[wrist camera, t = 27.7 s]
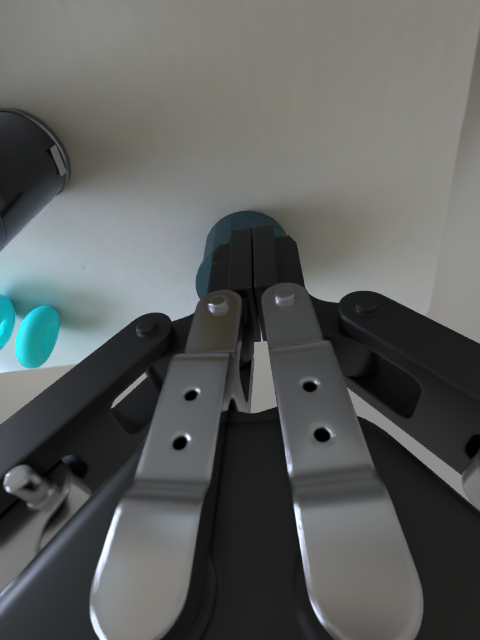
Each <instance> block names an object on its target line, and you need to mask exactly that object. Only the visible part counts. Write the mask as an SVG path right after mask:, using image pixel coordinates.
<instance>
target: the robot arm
mask: <svg viewBox="0 0 480 640" xmlns="http://www.w3.org/2000/svg"><path fill="white" fill-rule="evenodd" d="M69 178H70V163H69V159H68V156H67V153H66V151H65V149H64V147H63V145H62V144H61V142H60V141H59V139H58V138H57V136H56V135H55V134H54V133H53V132H52V131H51V130H50V129H49V128H48V127H47V126H46V125H45V124H44V123H42V122H41V121H40V120H38V119H37V118H35V117H34V116H32V115H30V114H28V113H26V112H23V111H20V110H17V109H11V108H2V109H0V252H1V251H2V250H3V249H4V248H5V247H6V245H7V244H8V243H9V242H10V241H11V240H12V239H13V238H14V237H15V236H16V235H17V234H18V233H19V232H20V231H21V230H22V229H23V228H24V227H25V226H26V225H27V224H28V223H29V222H30V221H31V220H32V219H33V218H34V217H35V216H36V215H37V214H38V213H39V212H40V211H41V210H42V209H43V208H44V207H45V206H46V205H47V204H48V203H49V202H50V201H51V200H52V199H53V198H54V197H55V196H57V195H58V194H59V193H60V192H61V191H62V190H63V189H64V188H65V187H66V185H67V184H68V181H69ZM211 263H212V264H211V268H210V270H211V271H210V275H209V282H208V289H207V295H205V296H204V297H203V298H201V300H200V301H199V302H198V304H197V306H196V310H195V313H193V314H191V315H189V316H187V317H184V318H181V319H178V320H175V321H173V322H171V320H170V318H169V317H168V316H167V315H165V314H163V313H148V314H145V315H143V316H140V317H138V318H137V319H135V320H134V321H132V322H131V323H130V324H129V325H127V326H126V327H125V328H124V329H122V330H121V331H120V332H118V333H117V334H116V335H115V336H113V337H112V338H111V339H109V340H108V341H107V342H106V343H104V344H103V345H102V346H101V347H99V348H98V349H97V350H95V351H94V352H93V353H92V354H90V355H89V356H88V357H86V358H85V359H84V360H83V361H81V362H80V363H79V364H78V365H76V366H75V367H74V368H73V369H71V370H70V371H69V372H67V373H66V374H65V375H63V376H62V377H61V378H60V379H58V380H57V381H56V382H55V383H53V384H52V385H51V386H49V387H48V388H47V389H46V390H44V391H43V392H42V393H40V394H39V395H38V396H37V397H35V398H34V399H33V400H32V401H30V402H29V403H28V404H26V405H25V406H24V407H23V408H21V409H20V410H19V411H17V412H16V413H15V414H14V415H12V416H11V417H10V418H9V419H7V420H6V421H5V422H3V423H2V424H1V425H0V640H480V344H479V343H477V342H475V341H473V340H471V339H469V338H467V337H465V336H463V335H461V334H459V333H457V332H455V331H453V330H451V329H449V328H447V327H445V326H443V325H441V324H439V323H437V322H435V321H433V320H431V319H429V318H427V317H425V316H423V315H421V314H419V313H417V312H415V311H413V310H411V309H409V308H407V307H405V306H403V305H401V304H399V303H397V302H395V301H393V300H391V299H389V298H387V297H385V296H383V295H381V294H379V293H376V292H371V291H356V292H352V293H350V294H347V295H346V296H344V297H343V298H342V299H341V300H340V302H339V303H334V302H327V301H322V300H319V299H317V298H315V297H313V296H311V295H310V294H309V293H308V291H307V290H306V288H305V284H304V279H303V274H302V269H301V264H300V260H299V254H298V249H297V244H296V242H295V241H294V240H293V239H292V238H291V237H290V236H281V237H274V230H273V224H267V225H259V226H253V231H252V227H245V228H238V229H232V231H231V243H229V244H221V245H219V246H218V247H217V248H216V250H215V251H214V252H213V254H212V261H211ZM261 332H262V338H263V341H267V343H268V349H269V356H270V363H271V369H272V375H273V382H274V388H275V394H276V401H277V407H275V408H272V409H268V410H266V411H262V412H259V413H251V397H252V385H253V384H252V383H253V371H254V357H253V354H254V342H261ZM144 372H145V374H146V375H147V378H146V379H145V380H143V381H142V382H141V383H140V384H139V385H138V386H137V387H136V388H135V389H133V390H132V391H131V392H130V393H129V394H128V395H127V396H126V397H125V398H124V399H123V400H121V401H120V402H119V403H118V404H117V405H116V406H115V407H114V408H112V409H111V406H112V403H113V402H114V400H115V399H116V398H117V397H118V396H119V395H120V394H121V393H122V392H123V391H124V390H125V389H127V388H128V387H129V386H130V385H131V384H132V383H133V382H134V381H136V380H137V378H139V377H140V376H141V375H142V374H143V373H144ZM347 387H348V388H349V389H350V390H351V391H353V392H354V393H355V394H357V395H358V396H359V397H361V398H362V399H363V400H364V401H366V402H367V403H368V404H370V405H371V406H372V407H374V408H375V409H377V411H379V412H380V413H381V414H383V415H384V416H385V417H387V418H388V419H389V420H391V421H392V422H393V423H395V424H396V425H397V426H398V427H400V428H401V429H402V430H404V431H405V432H406V433H407V434H409V435H410V436H411V437H413V438H414V439H415V440H417V441H418V442H419V443H420V444H422V445H423V446H424V447H426V448H427V449H428V450H430V451H431V452H432V453H433V454H435V455H436V456H437V457H439V458H440V459H441V460H443V461H444V462H445V463H447V464H448V465H449V466H450V467H452V468H453V469H454V470H456V471H457V472H458V473H459V474H461V475H462V485H463V488H464V491H465V494H466V496H467V497H468V499H469V501H470V502H471V503H472V504H471V503H469V502H468V501H467V500H466V499H465V498H464V497H462V496H461V495H460V494H459V493H457V492H456V491H455V490H454V489H453V488H452V487H450V486H449V485H448V484H447V483H446V482H445V481H444V480H442V479H441V478H440V477H439V476H438V475H436V474H435V473H434V472H433V471H432V470H431V469H429V468H428V467H427V466H426V465H425V464H423V463H422V462H421V461H420V460H419V459H418V458H416V457H415V456H414V455H413V454H412V453H410V452H409V451H408V450H407V449H406V448H405V447H404V446H402V445H401V444H400V443H399V442H398V441H396V440H395V439H394V438H393V437H392V436H391V435H389V434H388V433H387V432H386V431H384V430H383V429H381V428H380V427H378V426H377V425H375V424H373V423H371V422H369V421H368V420H366V419H364V418H361V417H359V416H357V415H356V412H355V410H354V407H353V404H352V401H351V398H350V396H349V392H348V390H347Z"/></svg>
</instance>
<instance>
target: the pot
mask: <svg viewBox="0 0 480 640" xmlns="http://www.w3.org/2000/svg"><path fill="white" fill-rule="evenodd" d="M267 224H273V230H274V237H281V236H286V234H285V232H284V230H283V229H282V227H281V226H280V225H279V224H278V223H277V222H276V221H275V220H274V219H272V218H270V217H269V216H267V215H264V214H262V213H258V212H253V211H243V212H237V213H233V214H230V215H228V216H226V217H224V218H223V219H221V220H220V221H218V222H217V223H216V224H215V225H214V227H213V228H212V229H211V231H210V233H209V235H208V236H207V241H206V247H205V252H204V258H203V260H204V259H205V258H206V257H207V255H209V254H210V253H211V252H212V251H213V250H215V249H216V248H217V247H218V246H219V245H221V244H227V243H231V231H232V229H238V228H245V227H252V231H253V226H259V225H267Z"/></svg>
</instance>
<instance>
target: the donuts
mask: <svg viewBox="0 0 480 640" xmlns="http://www.w3.org/2000/svg"><path fill="white" fill-rule="evenodd" d="M14 324H15V309H14V306H13V304H12V302H11V301H10V300H9V299H8V298H7V297H5V296H3V295H1V294H0V350H1V349H2V348H3V347H4V346H5V344H6V343H7V342H8V340H9V338H10V336H11V334H12V331H13V328H14ZM59 326H60V319H59V314H58V312H57V311H56V310H55V309H54V308H53V307H50V306H40V307H37V308H35V309H33V310H32V311H31V312H30V313H29V314H28V315H27V316H26V317H25V319H24V320H23V322H22V324H21V326H20V328H19V330H18V333H17V337H16V342H15V353H16V357H17V360H18V361H19V363H20V364H21V365H22V366H24V367H26V368H37V367H39V366H41V365H42V364H43V363H45V361H46V360H47V359H48V358H49V356H50V354H51V352H52V350H53V348H54V346H55V343H56V340H57V337H58V333H59Z"/></svg>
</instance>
